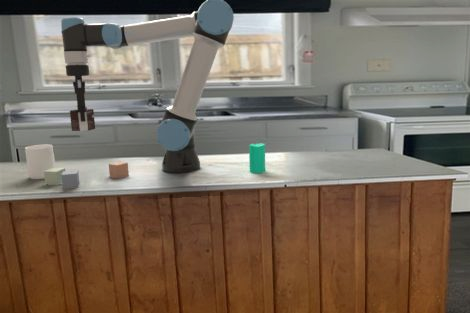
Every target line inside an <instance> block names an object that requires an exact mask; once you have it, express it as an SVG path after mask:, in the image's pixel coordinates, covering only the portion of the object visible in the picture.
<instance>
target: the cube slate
mask: <svg viewBox="0 0 470 313" xmlns="http://www.w3.org/2000/svg"><path fill="white" fill-rule="evenodd" d="M79 175H80V174H79V170H78V169H77V170H65V171H63V172H62V174H61V178H62V184H61V185H62V190H65V188H66V189H75V188H79V186H80V183H81V182H80V176H79Z"/></svg>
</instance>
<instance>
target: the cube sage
mask: <svg viewBox="0 0 470 313" xmlns="http://www.w3.org/2000/svg"><path fill="white" fill-rule="evenodd" d="M63 171H66V168H65V167H55V168H51V169H49V170H46V171H44V175H45V179H44V182H45V186H60V185H62V184H61V183H62V178H61V174H62V172H63ZM47 184H48V185H47ZM59 184H60V185H59Z"/></svg>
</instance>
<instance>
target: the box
mask: <svg viewBox="0 0 470 313" xmlns="http://www.w3.org/2000/svg"><path fill="white" fill-rule="evenodd" d="M76 110H77V109H72V110H69V116H70V126H71V127H70V128H71V132H81V131H80V127H79V117H78V112H77V113H76ZM86 114H87V124H88V131H92V130H95V129H96V122H95V113H94V109H93V108H87V109H86ZM88 131H87V132H88Z"/></svg>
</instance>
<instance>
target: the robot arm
mask: <svg viewBox="0 0 470 313" xmlns="http://www.w3.org/2000/svg"><path fill="white" fill-rule="evenodd" d="M234 17H235V16H234V11H233V9H232V8H231V6H230V4H228V3H227V1H225V0H205V1H204V2H203V3H201V5H200V6H199V8H198V10H197V11H193V12H192V13H191V15H184V16H176V17H171V18H165V19H157V20H151V21H145V22H138V23H137V22H136V23H131V24H125V25H119V24H118V23H114V22H113V23H112V22H105V23H86V22H85V20H84V18H82V17H74V16H72V17H71V16H70V17H69V16H68V17H67V16H66V17H63V18H62V19H61V21H60V23H61V26H60V27H61V35H62V36H61V37H62V44H63V56H64V63H65V64H66V65H65V73H66V76H67V77H74V81H72V85H73V89H74V94H75V95H76V103H77V105H76V107H77V109H75V110H76V113H77V112H78V117H79V127H80V131H79V132H88V124H87V114H86V109H88V106H86V98H85V94H86V81H85V80H83V77H87V76H90V69H89V68H90V67H89V65H88V63H89V60H88V58H90V54H88V47H106V48H111V49H113V50H114V49H121V48H124V47H130V46H137V45H143V44H144V45H145V44H150V43H151V44H152V43H157V42H158V43H159V42H164V41H172V40H179V39H185V38H186V39H187V38H192V37H193V39H194V41H193V44H192V48H191V49H190V51H189V52H190V53H189V56H188V59H187V61H186V64H185V67H184V69H183V73H182V75H181V78H180V81H179V84H178V87H177V90H176V92H175V95H174V98H173V102H172V104H171V105H170V106H168V107H166V108H165V110H164V112H163V117H162V119H161V123H159V125H158V126H157V128H156V139H157V142H158V143H159V145H160V146H161V147H162V148H163V149H165V152H164V156H163V160H162V163H161V169H162V171H164V172H167V173H191V172H194V171H197V170H199V169H201V161H200V158H199V156H198V152H197V151H196V145H195V144H196V141H195V140H196V139H195V126H196V123H197V121H198V118H197V115H196V111H197V108H198V106H199V103H200V100H201V97H202V95H203V91H204V89H205V86H206V83H207V82H208V78H209V75H210V72H211V70H212V68H213V64H214V62H215V59H216V56H217V53H218V52H219V51H218V50H219V49H221V48H223V47H225V44H226V41H227V38H228V36H229V33H230V31H231V30H232V27H233V23H234V19H235V18H234Z"/></svg>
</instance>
